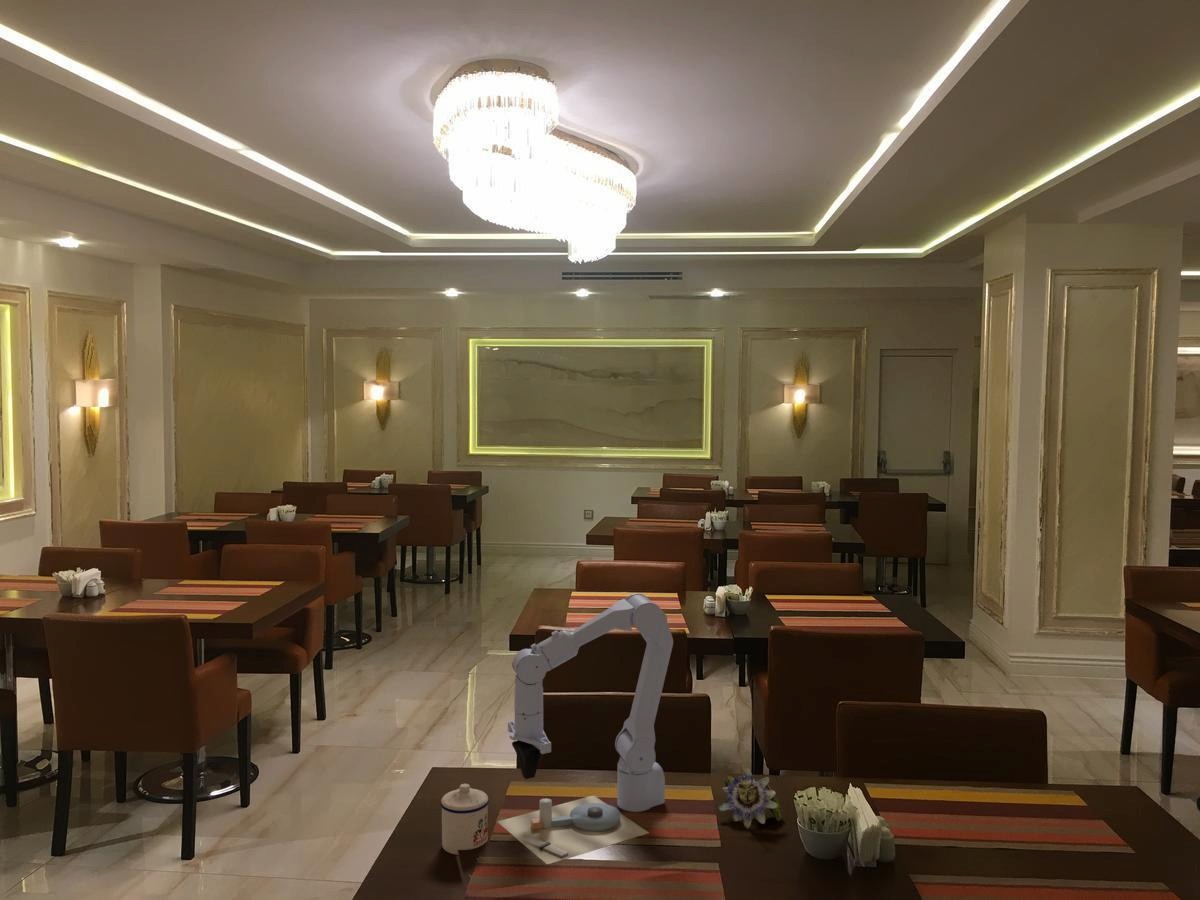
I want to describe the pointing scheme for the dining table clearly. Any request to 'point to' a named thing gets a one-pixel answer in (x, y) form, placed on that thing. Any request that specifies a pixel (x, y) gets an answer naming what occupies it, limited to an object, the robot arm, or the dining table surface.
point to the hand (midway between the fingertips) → (528, 777)
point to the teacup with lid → (464, 819)
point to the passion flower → (749, 799)
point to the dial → (578, 817)
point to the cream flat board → (567, 833)
